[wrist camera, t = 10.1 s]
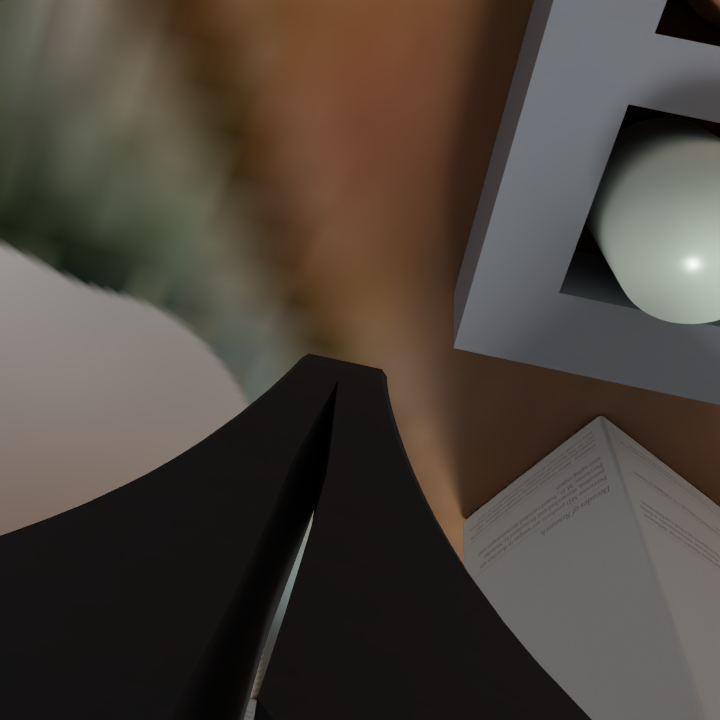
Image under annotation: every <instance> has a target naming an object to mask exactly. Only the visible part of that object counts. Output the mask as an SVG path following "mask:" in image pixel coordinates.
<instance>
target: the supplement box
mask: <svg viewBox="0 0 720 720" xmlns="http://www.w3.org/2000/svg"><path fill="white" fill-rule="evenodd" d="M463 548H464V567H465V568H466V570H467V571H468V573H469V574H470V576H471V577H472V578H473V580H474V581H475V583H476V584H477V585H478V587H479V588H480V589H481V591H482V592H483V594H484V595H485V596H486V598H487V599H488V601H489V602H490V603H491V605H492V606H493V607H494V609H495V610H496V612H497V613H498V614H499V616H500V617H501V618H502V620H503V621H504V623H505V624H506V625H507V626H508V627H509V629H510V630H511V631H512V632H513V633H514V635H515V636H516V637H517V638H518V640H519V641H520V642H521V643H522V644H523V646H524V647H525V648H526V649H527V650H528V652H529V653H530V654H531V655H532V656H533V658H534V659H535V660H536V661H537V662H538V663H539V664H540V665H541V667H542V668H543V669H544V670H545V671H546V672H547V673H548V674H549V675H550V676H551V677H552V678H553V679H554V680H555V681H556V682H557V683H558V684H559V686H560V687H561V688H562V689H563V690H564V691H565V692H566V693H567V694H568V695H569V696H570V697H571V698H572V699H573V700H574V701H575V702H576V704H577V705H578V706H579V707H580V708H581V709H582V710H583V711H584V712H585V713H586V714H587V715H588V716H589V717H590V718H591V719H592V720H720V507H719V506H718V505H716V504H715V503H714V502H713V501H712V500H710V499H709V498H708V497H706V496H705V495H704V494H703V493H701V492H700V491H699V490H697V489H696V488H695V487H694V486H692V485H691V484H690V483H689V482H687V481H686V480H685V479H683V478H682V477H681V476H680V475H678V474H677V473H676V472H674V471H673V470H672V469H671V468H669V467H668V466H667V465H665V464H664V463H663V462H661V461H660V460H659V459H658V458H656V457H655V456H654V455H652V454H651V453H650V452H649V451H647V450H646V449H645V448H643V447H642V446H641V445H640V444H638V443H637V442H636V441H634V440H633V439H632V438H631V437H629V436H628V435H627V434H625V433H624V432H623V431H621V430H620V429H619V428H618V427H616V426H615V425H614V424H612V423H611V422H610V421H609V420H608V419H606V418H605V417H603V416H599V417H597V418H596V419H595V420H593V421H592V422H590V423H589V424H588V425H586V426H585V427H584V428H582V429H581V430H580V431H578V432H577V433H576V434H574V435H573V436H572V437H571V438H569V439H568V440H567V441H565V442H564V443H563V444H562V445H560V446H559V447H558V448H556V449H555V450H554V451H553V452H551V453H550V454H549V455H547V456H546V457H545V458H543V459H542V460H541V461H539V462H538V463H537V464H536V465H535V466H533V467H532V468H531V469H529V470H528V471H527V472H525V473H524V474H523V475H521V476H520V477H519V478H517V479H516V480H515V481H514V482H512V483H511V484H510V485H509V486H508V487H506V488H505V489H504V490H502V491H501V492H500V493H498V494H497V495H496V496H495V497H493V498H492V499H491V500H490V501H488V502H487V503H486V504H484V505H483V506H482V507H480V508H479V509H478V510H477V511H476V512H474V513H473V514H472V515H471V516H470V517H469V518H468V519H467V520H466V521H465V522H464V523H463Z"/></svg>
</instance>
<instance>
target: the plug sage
mask: <svg viewBox="0 0 720 720" xmlns="http://www.w3.org/2000/svg"><path fill="white" fill-rule="evenodd" d="M585 223H586V225H587V227H588V229H589V231H590V232H591V234H592V236H593V238H594V239H595V241H596V243H597V245H598V246H599V248H600V250H601V252H602V253H603V255H604V257H605V259H606V261H607V262H608V264H609V266H610V268H611V269H612V271H613V273H614V275H615V276H616V278H617V280H618V282H619V284H620V285H621V287H622V289H623V290H624V292H625V293H626V295H627V296H628V298H629V299H630V300H631V301H632V302H633V303H634V304H635V305H636V306H637V307H639V308H640V309H641V310H642V311H644V312H646V313H648V314H649V315H651V316H653V317H656V318H658V319H661V320H664V321H668V322H673V323H680V324H700V323H708V322H713V321H717V320H720V138H719V137H717V136H716V135H714V134H712V133H710V132H708V131H707V130H705V129H703V128H701V127H699V126H698V125H695V124H693V123H691V122H689V121H685V120H682V119H676V118H654V119H649V120H645V121H641V122H638V123H636V124H633V125H631V126H629V127H627V128H625V129H623V130H621V131H620V132H618V134H617V137H616V140H615V142H614V145H613V148H612V150H611V153H610V156H609V159H608V161H607V164H606V167H605V169H604V172H603V175H602V178H601V180H600V183H599V186H598V188H597V191H596V194H595V197H594V199H593V202H592V205H591V207H590V210H589V213H588V216H587V218H586V221H585Z"/></svg>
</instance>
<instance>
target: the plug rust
mask: <svg viewBox="0 0 720 720" xmlns="http://www.w3.org/2000/svg"><path fill="white" fill-rule="evenodd" d="M687 2H688V3H689V4H690V6H691V7H692V8H693V9H694V10H695V11H696V12H697V13H698V14H699V15H700V16H702V17H703V18H705V19H706V20H707V21H709V22H712V23H714V24H716V25H719V26H720V0H687Z"/></svg>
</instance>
